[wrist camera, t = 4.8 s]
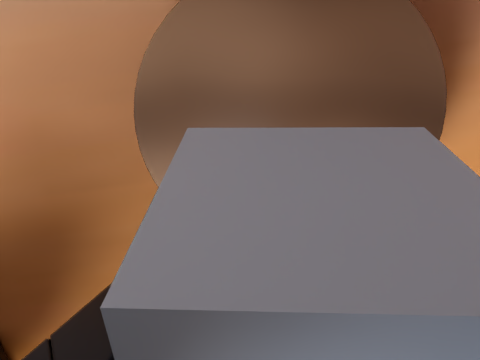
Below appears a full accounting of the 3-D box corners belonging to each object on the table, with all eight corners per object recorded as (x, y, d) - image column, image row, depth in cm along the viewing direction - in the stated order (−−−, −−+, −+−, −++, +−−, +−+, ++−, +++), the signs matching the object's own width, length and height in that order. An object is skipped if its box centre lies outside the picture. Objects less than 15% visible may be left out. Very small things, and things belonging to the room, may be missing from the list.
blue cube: (384, 300, 10) (479, 545, 6) (203, 296, 10) (162, 528, 6) (423, 127, 8) (639, 319, 3) (187, 127, 8) (100, 307, 4)
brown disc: (394, 221, 19) (410, 253, 17) (166, 219, 20) (155, 249, 18) (452, -48, 14) (489, -54, 11) (130, -39, 14) (106, -43, 12)
